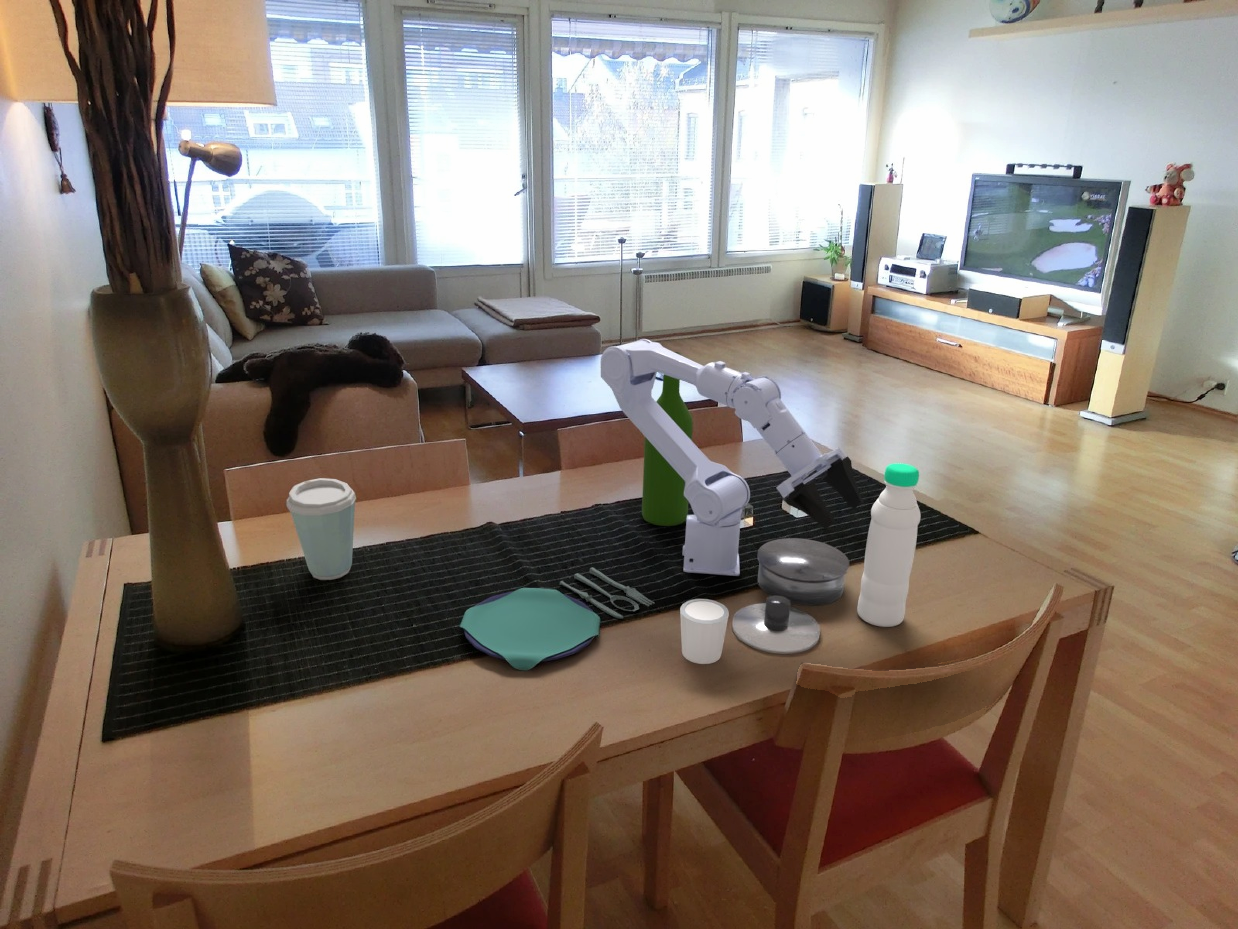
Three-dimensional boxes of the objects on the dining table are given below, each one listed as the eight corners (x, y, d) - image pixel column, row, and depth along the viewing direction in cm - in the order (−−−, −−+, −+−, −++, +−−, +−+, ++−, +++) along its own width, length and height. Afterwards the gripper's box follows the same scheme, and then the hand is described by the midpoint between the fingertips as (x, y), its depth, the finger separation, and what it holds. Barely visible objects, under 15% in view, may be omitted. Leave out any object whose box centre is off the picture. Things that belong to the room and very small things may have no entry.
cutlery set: (436, 628, 127) (435, 615, 126) (587, 570, 147) (587, 558, 146) (518, 690, 114) (518, 675, 113) (671, 616, 133) (672, 603, 133)
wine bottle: (695, 514, 168) (705, 352, 157) (673, 530, 161) (682, 361, 150) (656, 504, 173) (663, 345, 161) (633, 518, 166) (639, 354, 154)
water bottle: (878, 633, 129) (902, 478, 120) (846, 611, 135) (867, 462, 126) (913, 622, 132) (938, 471, 123) (880, 602, 138) (902, 456, 129)
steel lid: (732, 651, 124) (735, 620, 122) (731, 606, 136) (733, 577, 134) (823, 659, 122) (828, 627, 121) (814, 613, 135) (817, 584, 133)
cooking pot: (757, 603, 136) (759, 575, 135) (753, 561, 150) (755, 535, 148) (851, 610, 135) (855, 582, 133) (839, 567, 149) (842, 541, 147)
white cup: (712, 672, 118) (715, 628, 116) (668, 656, 121) (671, 613, 119) (733, 649, 124) (737, 607, 121) (691, 635, 127) (693, 593, 124)
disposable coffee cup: (375, 572, 142) (368, 489, 137) (315, 594, 135) (305, 507, 130) (341, 551, 149) (333, 471, 144) (282, 571, 142) (272, 488, 136)
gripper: (776, 448, 125) (833, 523, 123) (833, 415, 134) (887, 485, 131) (751, 470, 131) (805, 543, 128) (807, 437, 140) (858, 505, 137)
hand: (844, 515), depth 130 cm, fingers open, 7 cm apart
